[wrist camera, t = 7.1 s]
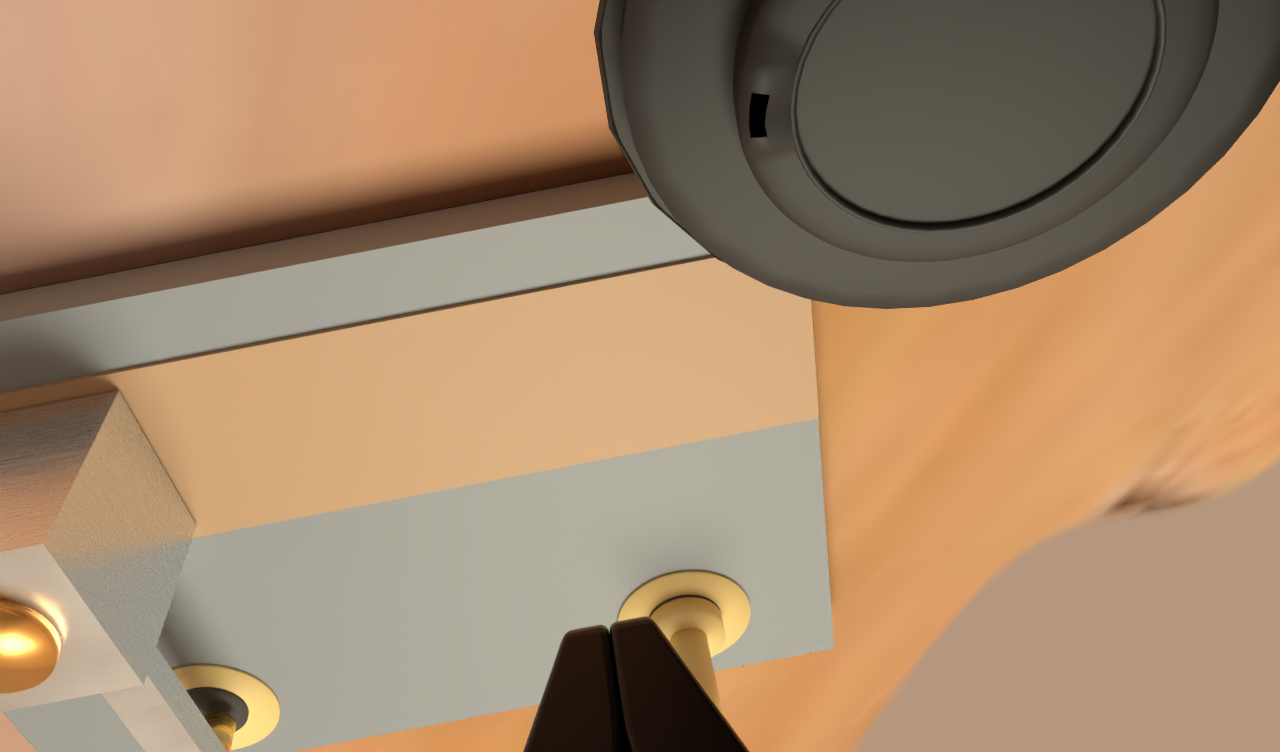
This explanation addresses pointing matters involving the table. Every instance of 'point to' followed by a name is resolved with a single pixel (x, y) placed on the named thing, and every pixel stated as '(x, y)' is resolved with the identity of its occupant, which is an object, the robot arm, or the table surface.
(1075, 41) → the coffee cup
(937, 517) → the table surface
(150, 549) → the white block with bar
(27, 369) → the jig plate
